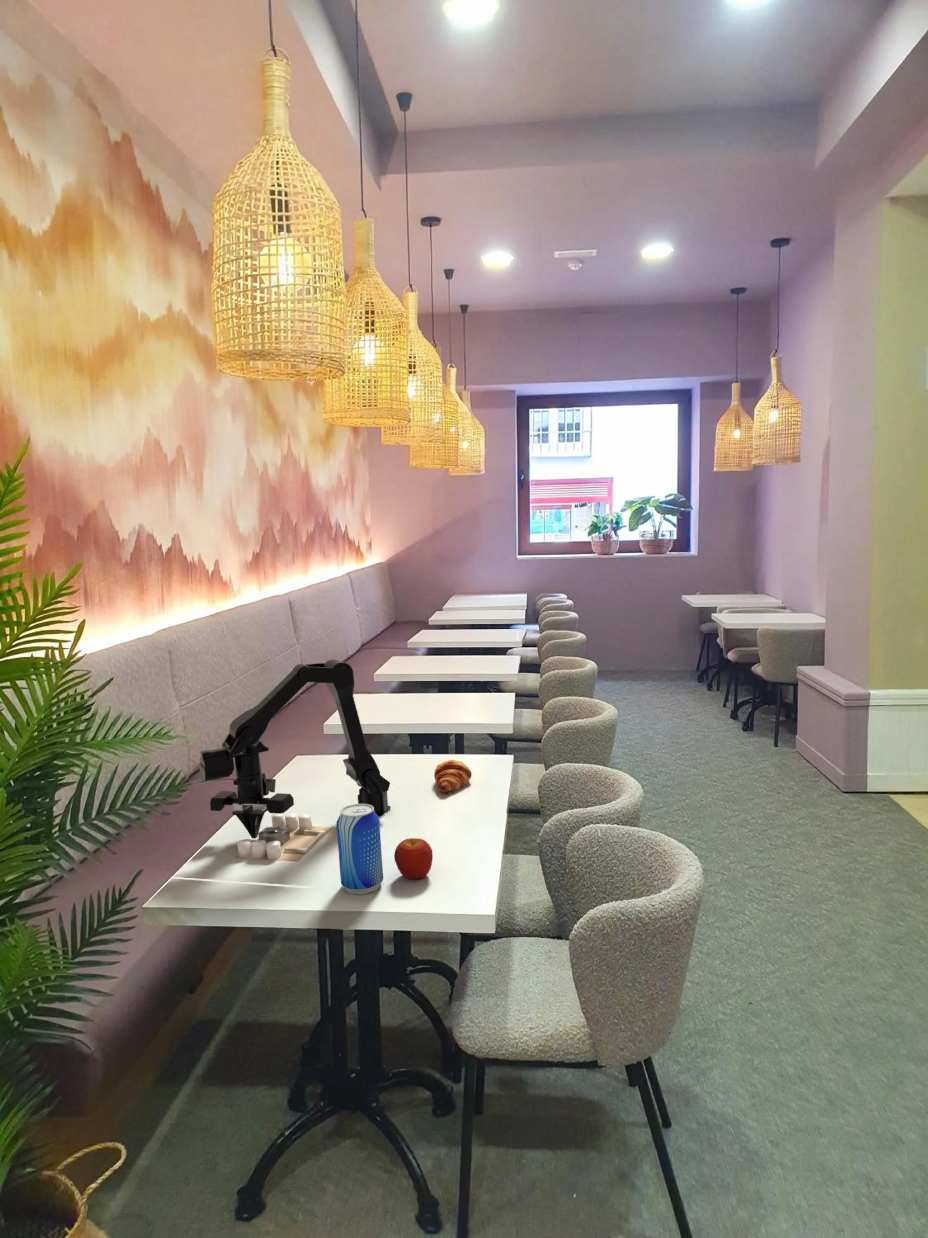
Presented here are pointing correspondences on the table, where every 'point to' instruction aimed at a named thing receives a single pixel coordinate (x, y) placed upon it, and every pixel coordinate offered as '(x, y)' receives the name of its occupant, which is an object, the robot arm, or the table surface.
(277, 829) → the nut
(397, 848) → the apple
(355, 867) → the beer can
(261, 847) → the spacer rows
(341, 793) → the table surface
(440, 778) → the croissant
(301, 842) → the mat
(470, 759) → the table surface
